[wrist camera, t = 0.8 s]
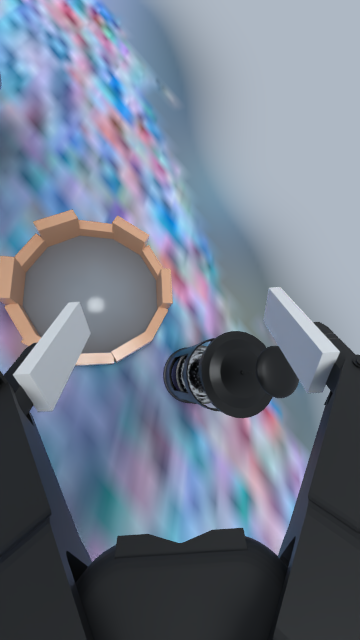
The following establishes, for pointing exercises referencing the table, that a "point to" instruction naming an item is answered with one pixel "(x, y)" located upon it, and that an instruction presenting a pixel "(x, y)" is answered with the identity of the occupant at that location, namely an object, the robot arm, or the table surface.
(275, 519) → the table surface
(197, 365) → the french press
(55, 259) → the castellated ring
